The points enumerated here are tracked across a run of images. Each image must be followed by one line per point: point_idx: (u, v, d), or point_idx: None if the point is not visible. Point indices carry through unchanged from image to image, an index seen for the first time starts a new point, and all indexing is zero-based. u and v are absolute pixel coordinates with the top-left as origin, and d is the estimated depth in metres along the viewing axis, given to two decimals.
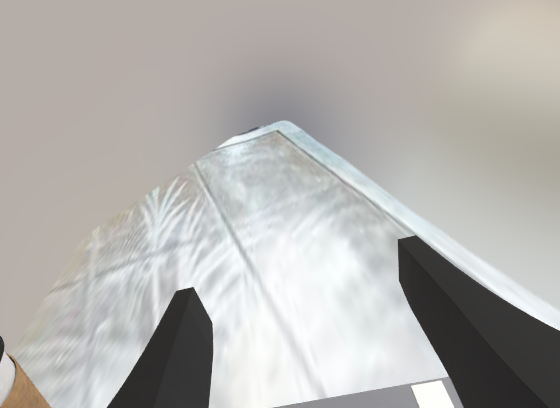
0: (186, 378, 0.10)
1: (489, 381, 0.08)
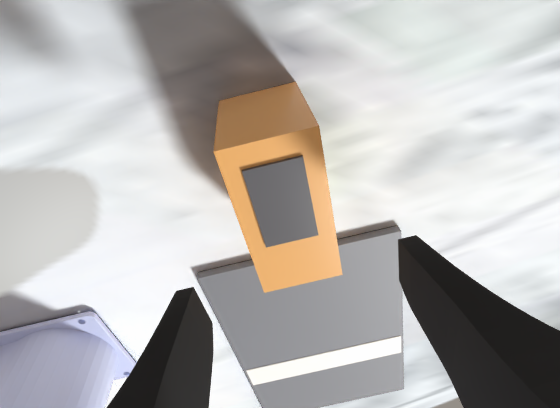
0: (186, 378, 0.10)
1: (489, 381, 0.08)
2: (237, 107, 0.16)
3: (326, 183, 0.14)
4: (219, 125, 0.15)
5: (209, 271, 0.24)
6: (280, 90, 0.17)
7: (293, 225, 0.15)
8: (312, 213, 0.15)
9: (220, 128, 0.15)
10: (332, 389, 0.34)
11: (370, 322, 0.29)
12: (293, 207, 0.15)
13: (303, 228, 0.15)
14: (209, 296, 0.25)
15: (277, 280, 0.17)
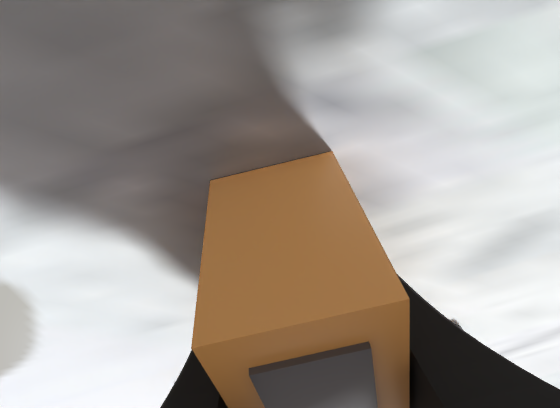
0: None
1: (421, 396, 0.08)
2: (239, 206, 0.10)
3: (406, 374, 0.08)
4: (207, 252, 0.08)
5: None
6: (309, 171, 0.10)
7: None
8: None
9: (208, 263, 0.08)
10: None
11: None
12: None
13: None
14: None
15: None
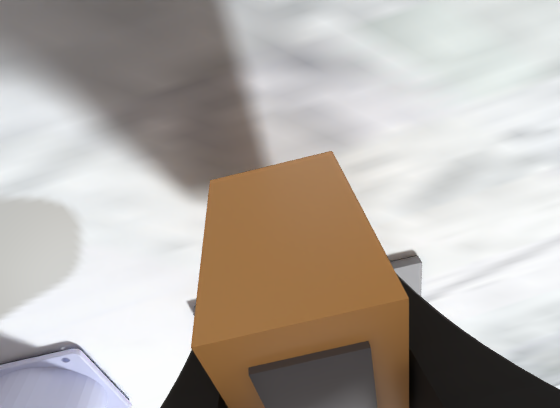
0: None
1: (420, 396, 0.08)
2: (239, 206, 0.10)
3: (405, 373, 0.08)
4: (206, 252, 0.08)
5: None
6: (309, 171, 0.10)
7: None
8: None
9: (208, 263, 0.08)
10: None
11: None
12: None
13: None
14: None
15: None
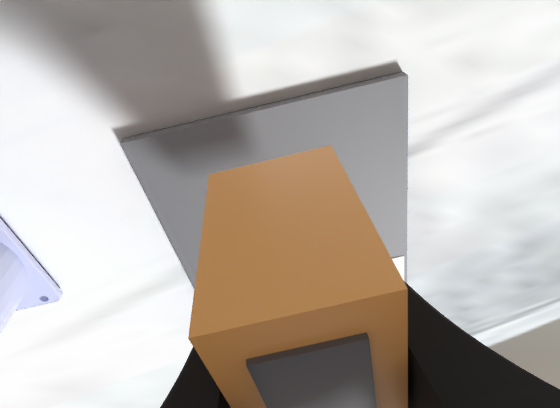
0: None
1: (420, 396, 0.08)
2: (238, 199, 0.10)
3: (404, 366, 0.08)
4: (204, 245, 0.08)
5: (138, 136, 0.17)
6: (308, 165, 0.10)
7: None
8: (373, 406, 0.08)
9: (206, 255, 0.08)
10: None
11: None
12: (340, 403, 0.08)
13: None
14: (141, 175, 0.18)
15: None
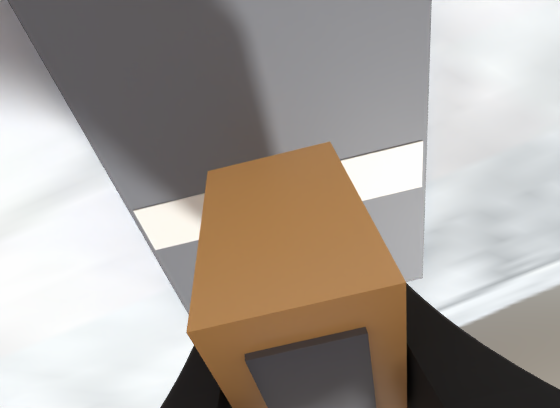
0: None
1: (420, 396, 0.08)
2: (237, 195, 0.10)
3: (403, 361, 0.08)
4: (203, 240, 0.08)
5: None
6: (307, 161, 0.10)
7: None
8: (372, 402, 0.08)
9: (205, 250, 0.08)
10: None
11: (365, 94, 0.14)
12: (339, 398, 0.08)
13: None
14: None
15: None
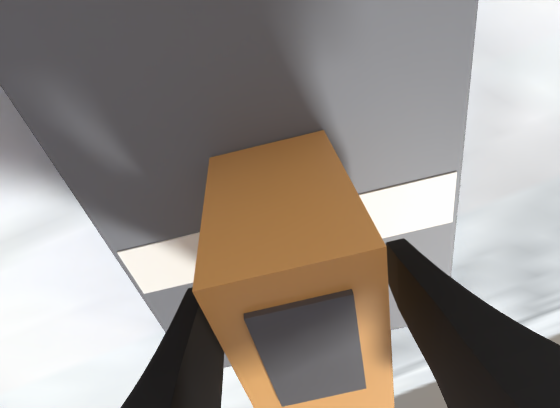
0: (200, 375, 0.10)
1: (471, 385, 0.08)
2: (237, 178, 0.10)
3: (387, 324, 0.08)
4: (206, 217, 0.09)
5: None
6: (302, 147, 0.11)
7: (327, 379, 0.09)
8: (359, 363, 0.09)
9: (208, 225, 0.09)
10: None
11: (391, 119, 0.12)
12: (329, 359, 0.09)
13: (343, 382, 0.09)
14: None
15: None
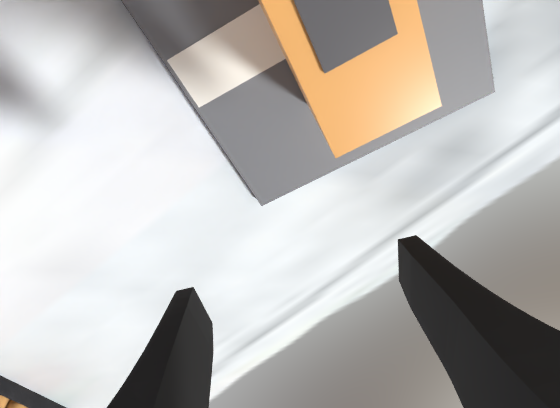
0: (186, 378, 0.10)
1: (489, 381, 0.08)
2: None
3: None
4: None
5: None
6: None
7: (357, 22, 0.10)
8: None
9: None
10: None
11: None
12: None
13: (373, 25, 0.10)
14: None
15: (350, 133, 0.12)
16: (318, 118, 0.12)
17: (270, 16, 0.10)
